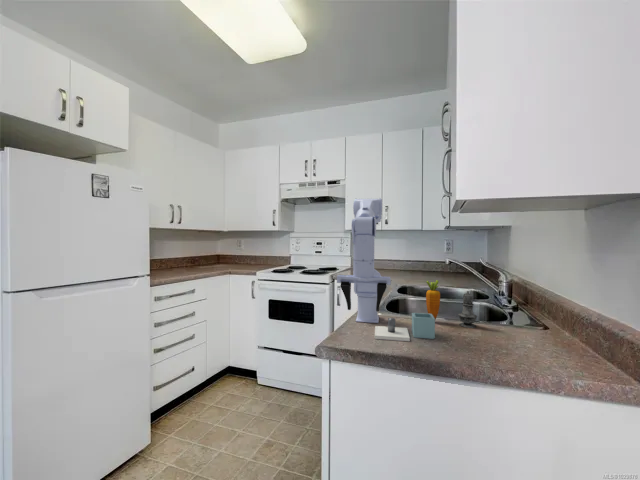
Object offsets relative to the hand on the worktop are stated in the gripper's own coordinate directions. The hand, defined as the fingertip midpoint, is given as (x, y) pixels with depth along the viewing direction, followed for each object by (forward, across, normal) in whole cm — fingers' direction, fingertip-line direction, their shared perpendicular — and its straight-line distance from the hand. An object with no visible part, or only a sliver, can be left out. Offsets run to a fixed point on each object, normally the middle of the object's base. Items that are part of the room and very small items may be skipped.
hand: (363, 309), depth 83 cm
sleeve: (+10, +18, +14) cm, 25 cm away
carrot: (+10, +23, +30) cm, 39 cm away
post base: (+10, +8, +12) cm, 18 cm away
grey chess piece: (+10, +34, +28) cm, 45 cm away
